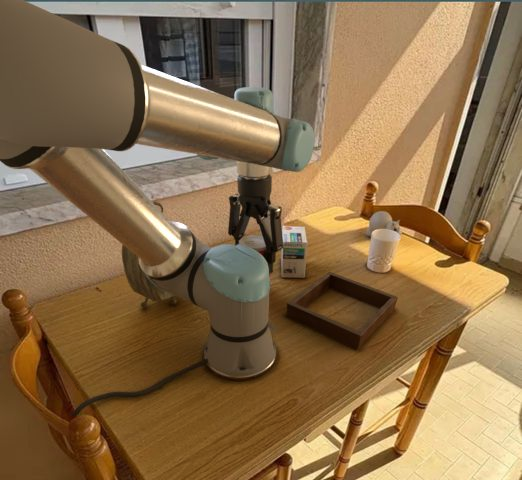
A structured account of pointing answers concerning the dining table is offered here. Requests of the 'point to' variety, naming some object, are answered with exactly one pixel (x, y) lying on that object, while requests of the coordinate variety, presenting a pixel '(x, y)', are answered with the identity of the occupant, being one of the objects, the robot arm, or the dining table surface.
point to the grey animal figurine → (382, 223)
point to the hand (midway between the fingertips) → (255, 268)
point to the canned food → (254, 243)
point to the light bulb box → (294, 252)
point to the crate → (335, 328)
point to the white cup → (382, 249)
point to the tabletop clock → (142, 277)
